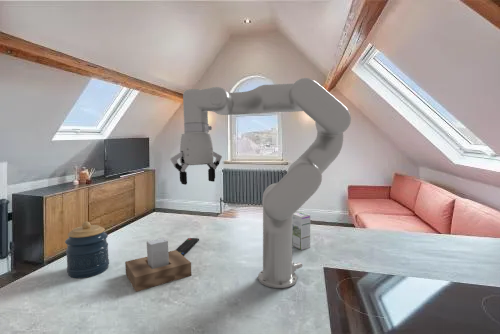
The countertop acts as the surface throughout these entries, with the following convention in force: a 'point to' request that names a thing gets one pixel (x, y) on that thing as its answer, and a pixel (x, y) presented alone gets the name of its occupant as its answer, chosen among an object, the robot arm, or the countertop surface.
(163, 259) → the skincare box
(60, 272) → the countertop surface
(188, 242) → the remote control
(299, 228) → the syrup box
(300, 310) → the countertop surface
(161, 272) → the frame
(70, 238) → the canister
